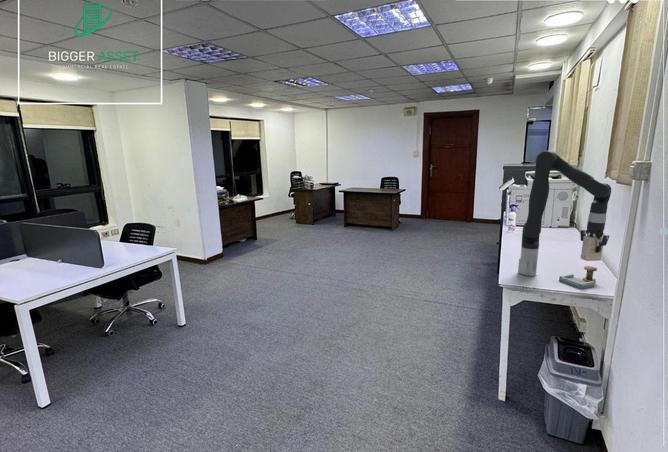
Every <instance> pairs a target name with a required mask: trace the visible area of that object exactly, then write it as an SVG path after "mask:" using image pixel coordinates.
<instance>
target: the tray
mask: <svg viewBox="0 0 668 452" xmlns="http://www.w3.org/2000/svg"><path fill="white" fill-rule="evenodd" d="M558 281H559V282H562V283H565V284H567V285H569V286H573V287H575V288H578V289H581V290H583V289H588V288H592V287H595V284H596V281H595V282H594V281H591V282H587V281H584V280H583V279H580V278H578V277H576V276H575V275H574V274H573V273H571V274H569V273H568V274H565V275H561V276H559V279H558Z"/></svg>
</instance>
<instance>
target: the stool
mask: <svg viewBox="0 0 668 452" xmlns="http://www.w3.org/2000/svg"><path fill="white" fill-rule="evenodd" d="M583 269H584V270H585V271H586V275H585V276H584V277H582V280H584V281H587V282H591V281H594V282H595V283H596V281H597V280H596V279H595V278H594V277H593V276H594V272H597V271H598V268H597V267H595V266H591V265H585V266H583Z"/></svg>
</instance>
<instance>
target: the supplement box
mask: <svg viewBox="0 0 668 452" xmlns="http://www.w3.org/2000/svg"><path fill="white" fill-rule="evenodd" d="M601 239H602V240H603V238H602V237H601V238H600V239H598V240H601ZM596 246H597V244H596V242H595V238H594V237H591V236H587V235H586V236H584V238H583V241H582V246H581V253H580V260H583V261H586V262H590V261H591V262H593V261H595V262H596V261H601V260H602V255H603V249H604V246H601V251H600V252H599V253H596V252H595V251H596Z"/></svg>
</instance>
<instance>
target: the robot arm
mask: <svg viewBox="0 0 668 452" xmlns="http://www.w3.org/2000/svg"><path fill="white" fill-rule="evenodd" d="M534 167H535V169H534V176H533V179H532V183H531V184H532V185H531V188H530V192H529V198H528V214H527V218H526V222H525V223H524V224H523V226H522V231H521V232H522V233H521V248H520V258H518V267H517V274H520V275H523V276H524V277H535V276H537V269H538V261H539V260H538V258H539V248H540V235H541V232H542V223H543V221H542V220H543V215H544V213H545V209H546V206H547V202H548V198H549V194H550V180H549V179H550V178H549V177H550V174H551V170H555V171H557V172H558V173H560V174H562V175H563V176H565V177H566V178H567V179H568V180H569V181H571V182H572V183H574V184H576V185H578V187H581V188H582V189H584V190H585V191H586V192H588V193H589V194H591V195H592V196H593V199H592V200H593V201H592V202H591V205H590V208H589V214H588V218H587V223H586V229H583V230H582V229H581V230H580V231H579V232H580V235H579V236H580V241H581V242H583V238H584V236H591V237H594V238H595V242H596V244H597V246H596V251H595V252H596V253H599V252H600V251H601V246H603V247H605V246H607V244H608V242H609V238H610V235H607V234H605V233H604V230H605V229H606V228H605V226H606V221H607V212H608V205H609V201H610V198H611V195H612V186H611V185H610V184H608V183H605V182H603V183H602V182H599V181H598V180H596V179H595V178H594V177H593V176H592V175H591V174H588V173H587V172H585V171H583V170H582V169H579V168H577V167H576V166H574V165H572V164H570V163H569V162H567V161H566V160H564V159H563V158H562V157H560V156H559V155H558V154H557V153H556V152H555V151H553V150H552V151H551V150H544V151H541V152H539V154H538V155H537V156H536V158H535V166H534ZM601 237H602V238H603V240H602V239H601V240H598V239H600V238H601Z"/></svg>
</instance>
